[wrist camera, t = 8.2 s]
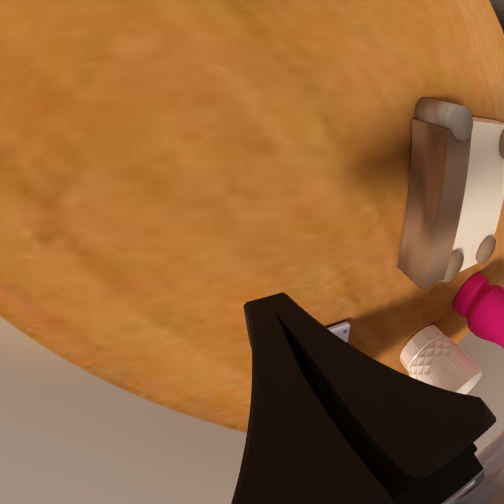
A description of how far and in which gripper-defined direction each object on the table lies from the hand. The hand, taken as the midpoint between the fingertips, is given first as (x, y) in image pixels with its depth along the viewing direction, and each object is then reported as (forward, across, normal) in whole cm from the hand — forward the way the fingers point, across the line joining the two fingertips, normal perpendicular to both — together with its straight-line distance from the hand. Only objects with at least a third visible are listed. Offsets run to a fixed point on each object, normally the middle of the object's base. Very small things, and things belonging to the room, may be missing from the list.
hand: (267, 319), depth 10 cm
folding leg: (+9, -16, +1) cm, 19 cm away
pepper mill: (+10, -31, +18) cm, 37 cm away
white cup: (+10, -23, +24) cm, 35 cm away
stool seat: (+9, -23, +2) cm, 25 cm away
